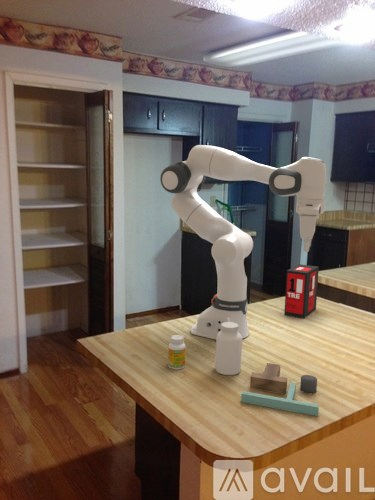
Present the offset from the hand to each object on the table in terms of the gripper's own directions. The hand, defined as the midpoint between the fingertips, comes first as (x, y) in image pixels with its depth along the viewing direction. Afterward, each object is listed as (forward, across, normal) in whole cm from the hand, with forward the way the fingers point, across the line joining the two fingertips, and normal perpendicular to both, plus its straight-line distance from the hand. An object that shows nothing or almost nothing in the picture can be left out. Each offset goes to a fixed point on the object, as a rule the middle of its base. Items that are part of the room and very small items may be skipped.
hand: (307, 249), depth 146 cm
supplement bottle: (+37, +26, -36) cm, 58 cm away
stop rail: (+36, +35, -2) cm, 51 cm away
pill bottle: (+37, +23, -20) cm, 48 cm away
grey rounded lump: (+36, +27, +4) cm, 46 cm away
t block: (+36, +26, -6) cm, 45 cm away
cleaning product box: (+36, -47, -3) cm, 60 cm away
